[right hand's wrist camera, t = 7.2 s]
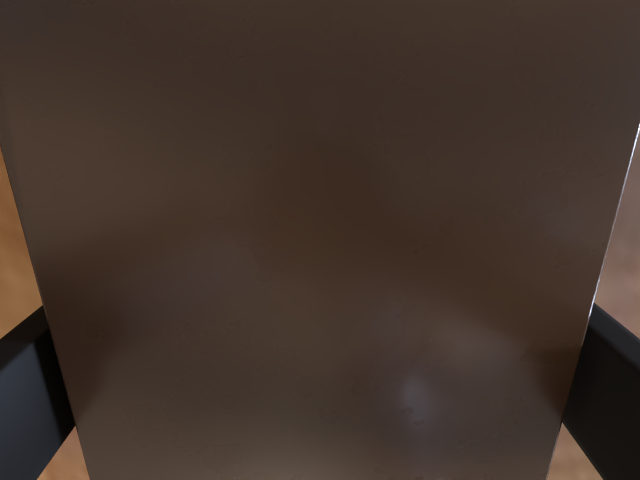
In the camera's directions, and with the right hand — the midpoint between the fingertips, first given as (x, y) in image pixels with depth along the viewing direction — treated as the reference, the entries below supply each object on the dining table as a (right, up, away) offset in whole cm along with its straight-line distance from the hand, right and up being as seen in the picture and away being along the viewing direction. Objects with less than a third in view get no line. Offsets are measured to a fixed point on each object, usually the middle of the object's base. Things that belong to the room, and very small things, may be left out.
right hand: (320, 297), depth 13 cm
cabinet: (0, +8, +1) cm, 8 cm away
